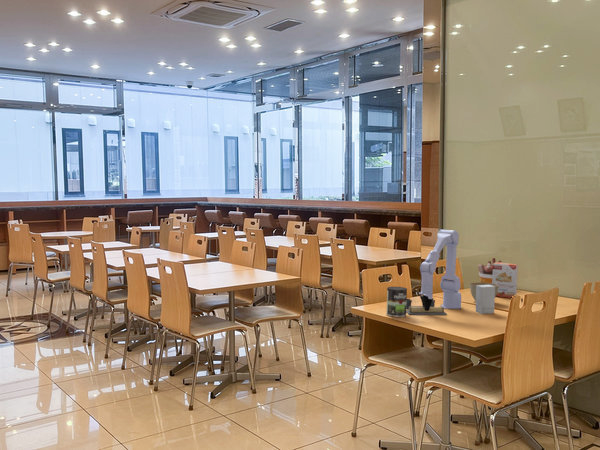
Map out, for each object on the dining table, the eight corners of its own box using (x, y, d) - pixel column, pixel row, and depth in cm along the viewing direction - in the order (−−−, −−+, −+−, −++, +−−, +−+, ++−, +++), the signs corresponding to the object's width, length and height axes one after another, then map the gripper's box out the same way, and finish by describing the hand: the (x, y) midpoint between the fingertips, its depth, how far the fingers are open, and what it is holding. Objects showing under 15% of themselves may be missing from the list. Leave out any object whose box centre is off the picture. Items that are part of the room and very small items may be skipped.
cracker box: (491, 296, 355) (492, 262, 354) (493, 294, 361) (494, 262, 359) (514, 298, 348) (516, 264, 347) (516, 297, 353) (518, 263, 352)
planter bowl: (494, 300, 340) (494, 282, 340) (500, 306, 324) (501, 287, 324) (466, 299, 342) (467, 281, 341) (472, 305, 326) (472, 286, 325)
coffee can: (409, 316, 292) (410, 289, 291) (391, 317, 289) (392, 290, 288) (400, 312, 302) (401, 286, 301) (383, 313, 299) (383, 286, 298)
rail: (442, 311, 302) (442, 306, 302) (443, 312, 300) (443, 307, 300) (408, 311, 301) (408, 306, 301) (409, 312, 298) (410, 307, 298)
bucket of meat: (500, 291, 372) (502, 261, 371) (475, 289, 380) (476, 259, 379) (506, 287, 389) (507, 258, 388) (481, 285, 397) (482, 256, 396)
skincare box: (488, 311, 310) (489, 284, 309) (494, 313, 304) (495, 286, 303) (474, 311, 307) (475, 284, 307) (480, 314, 302) (482, 286, 301)
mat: (442, 312, 305) (442, 310, 305) (446, 315, 298) (446, 313, 298) (405, 311, 303) (405, 310, 303) (409, 314, 296) (409, 313, 296)
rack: (432, 307, 315) (433, 298, 315) (435, 309, 311) (435, 300, 311) (404, 307, 314) (404, 298, 314) (406, 309, 310) (406, 300, 310)
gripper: (415, 282, 306) (415, 307, 307) (423, 286, 292) (422, 312, 293) (428, 282, 307) (427, 307, 308) (436, 287, 292) (435, 313, 293)
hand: (426, 310), depth 300 cm, fingers closed on rail, 2 cm apart
